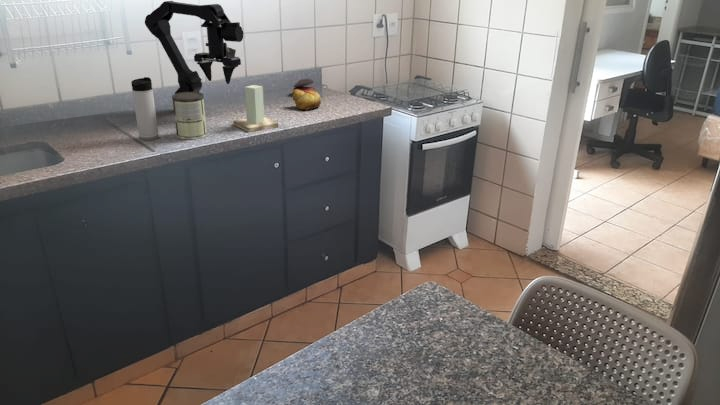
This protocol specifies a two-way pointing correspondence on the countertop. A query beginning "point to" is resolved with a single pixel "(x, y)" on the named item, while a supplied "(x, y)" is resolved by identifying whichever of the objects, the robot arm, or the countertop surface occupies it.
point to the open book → (255, 127)
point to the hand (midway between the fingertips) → (219, 82)
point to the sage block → (254, 104)
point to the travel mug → (145, 109)
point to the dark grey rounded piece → (304, 85)
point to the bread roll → (306, 99)
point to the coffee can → (189, 115)
